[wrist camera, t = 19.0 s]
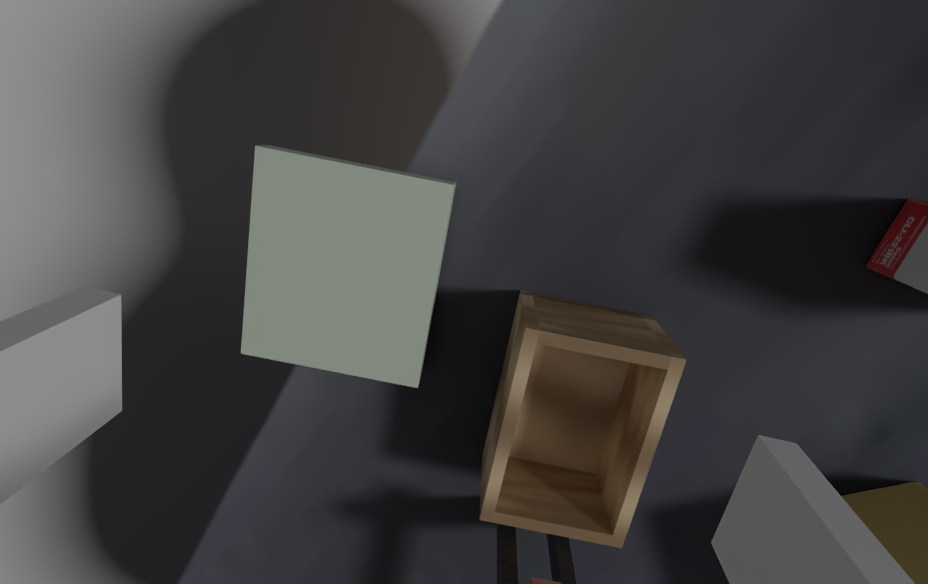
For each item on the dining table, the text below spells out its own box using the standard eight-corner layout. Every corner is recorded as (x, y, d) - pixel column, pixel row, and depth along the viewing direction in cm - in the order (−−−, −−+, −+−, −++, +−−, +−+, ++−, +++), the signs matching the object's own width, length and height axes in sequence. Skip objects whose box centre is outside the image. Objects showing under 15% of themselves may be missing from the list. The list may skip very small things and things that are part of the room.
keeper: (501, 495, 42) (502, 630, 31) (563, 508, 42) (587, 647, 31) (496, 512, 42) (496, 652, 31) (558, 525, 42) (580, 668, 31)
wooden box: (520, 290, 37) (525, 327, 30) (652, 316, 37) (686, 359, 30) (482, 454, 41) (479, 519, 34) (601, 478, 41) (621, 548, 34)
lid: (272, 144, 35) (255, 145, 32) (457, 180, 35) (454, 184, 32) (257, 338, 39) (240, 353, 37) (422, 371, 39) (417, 388, 37)
